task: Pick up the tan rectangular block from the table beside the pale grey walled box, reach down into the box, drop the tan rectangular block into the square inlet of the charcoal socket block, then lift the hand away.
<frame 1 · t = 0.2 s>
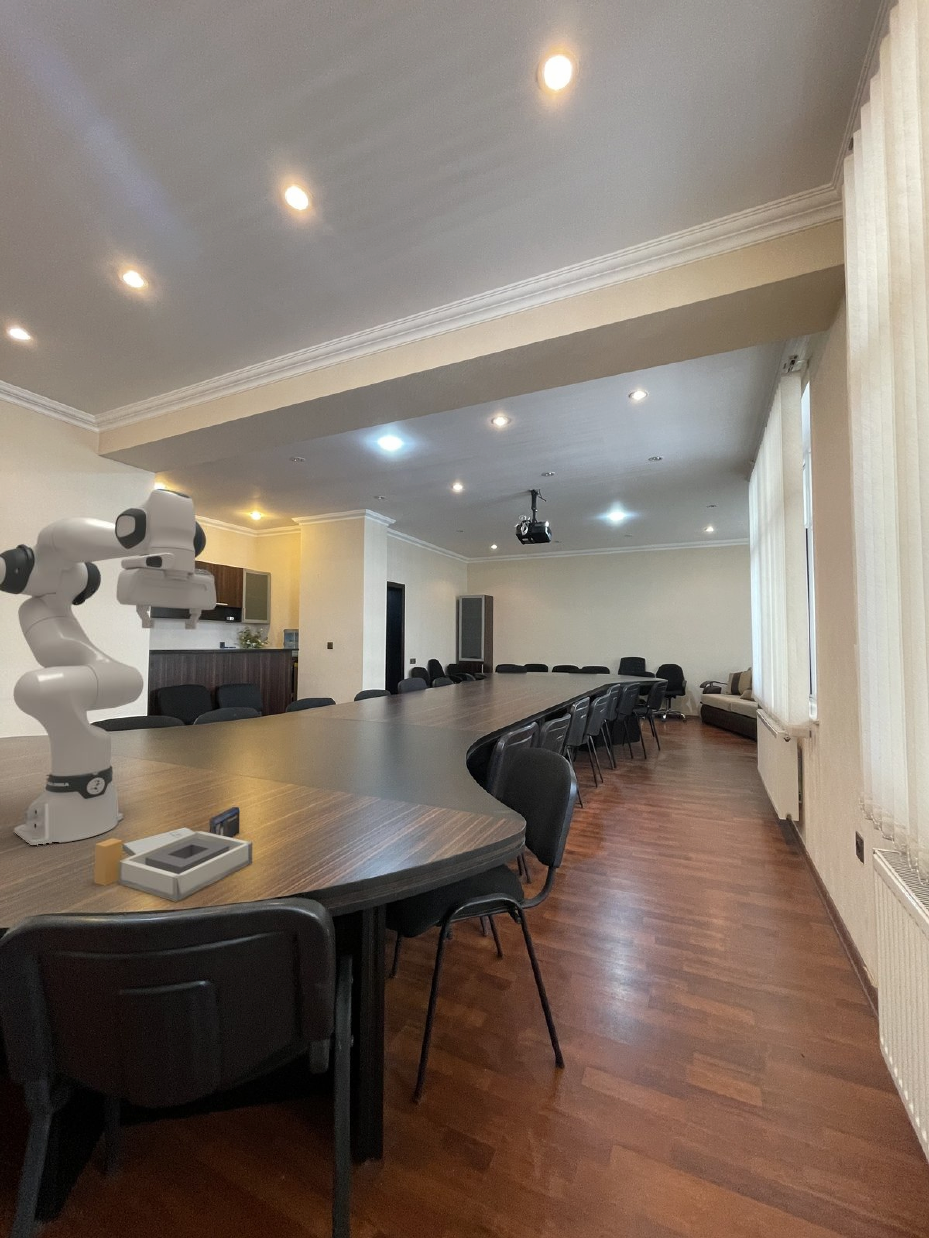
hand: (170, 628, 104), 47 cm above the table, tool pointing down, fingers open, 8 cm apart
external hard drive: (161, 847, 107), on the table
walled box: (188, 872, 93), on the table
tan rectangular block: (108, 880, 90), on the table
mini dv tape: (224, 841, 109), on the table
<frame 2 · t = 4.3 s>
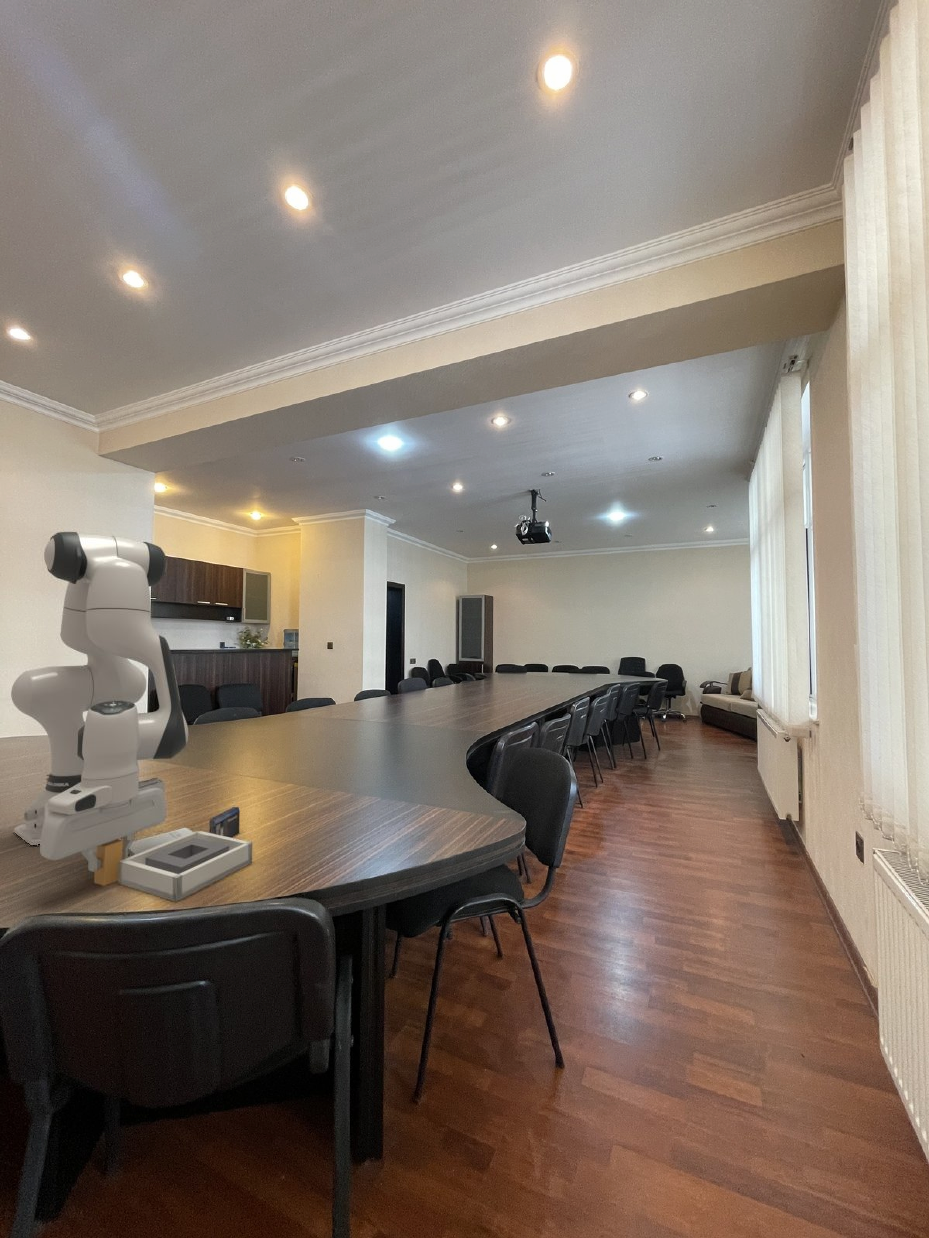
hand: (108, 864, 90), 3 cm above the table, tool pointing down, fingers closed on tan rectangular block, 3 cm apart
tan rectangular block: (108, 880, 90), on the table, touching gripper
everything else where it was.
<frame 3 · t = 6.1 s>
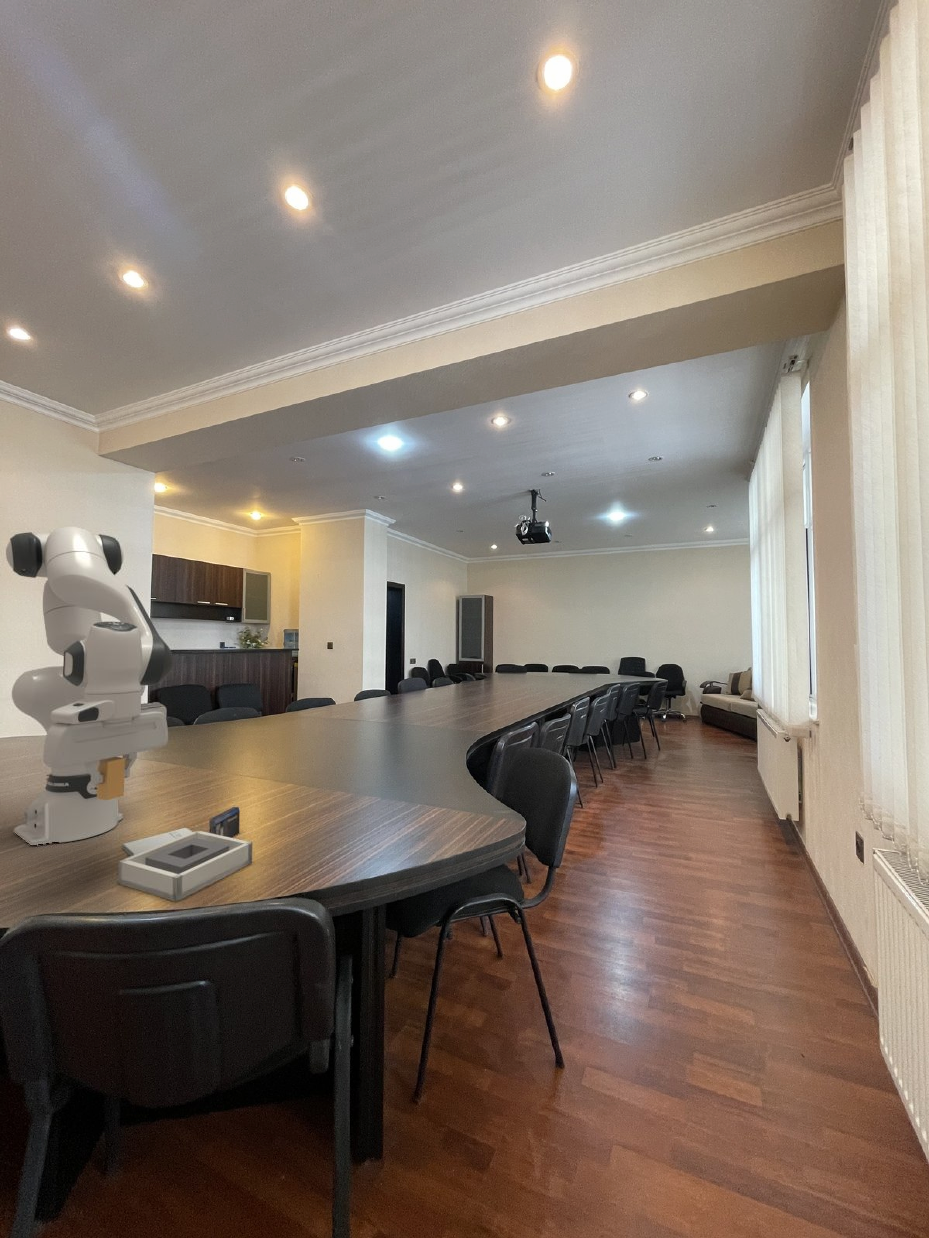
hand: (110, 780, 91), 18 cm above the table, tool pointing down, fingers closed on tan rectangular block, 3 cm apart
tan rectangular block: (110, 796, 91), point 15 cm above the table, touching gripper
everything else where it was.
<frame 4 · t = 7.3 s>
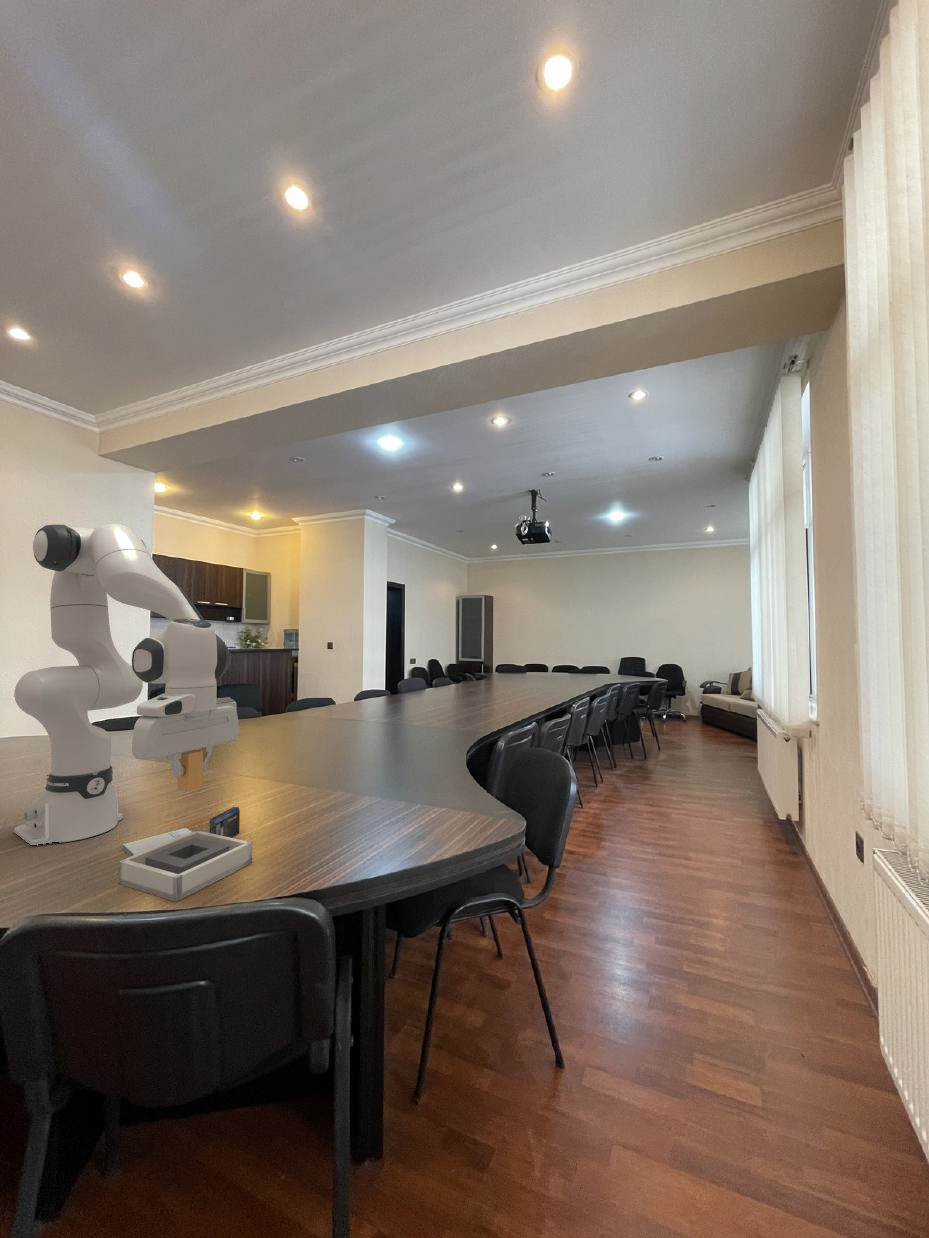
hand: (189, 773, 94), 19 cm above the table, tool pointing down, fingers closed on tan rectangular block, 3 cm apart
tan rectangular block: (189, 788, 94), point 16 cm above the table, touching gripper
everything else where it was.
when the fingers open (5 cm above the table, at t = 9.9 s): tan rectangular block drops 1 cm, resting on walled box.
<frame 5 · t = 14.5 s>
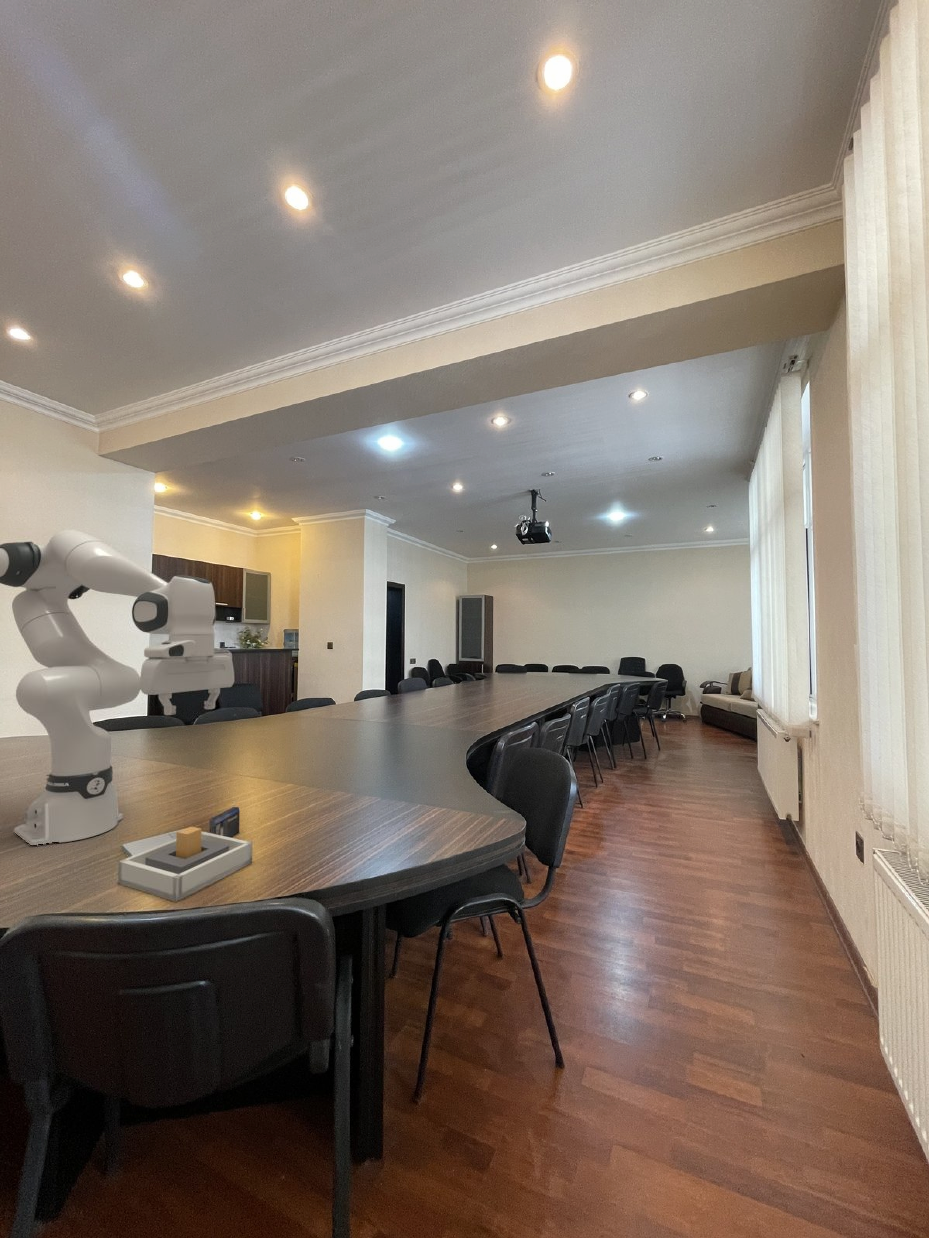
hand: (190, 711, 106), 29 cm above the table, tool pointing down, fingers open, 8 cm apart
tan rectangular block: (188, 867, 93), point 1 cm above the table, touching walled box
everything else where it was.
at the end: tan rectangular block 0.1 cm off-centre on the walled box, point 1.0 cm above the walled box's base; tan rectangular block tilted 0°; the gripper is holding nothing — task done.
